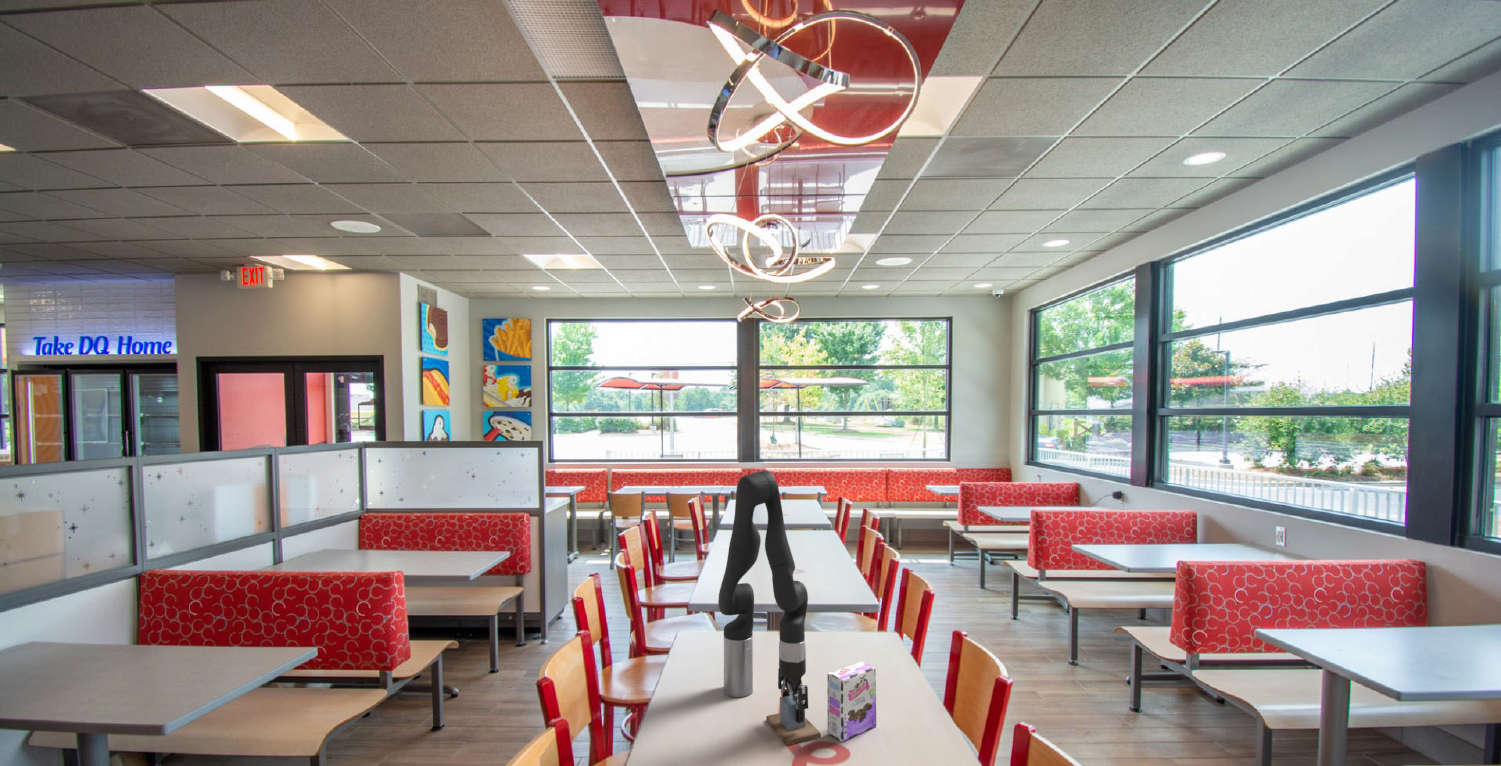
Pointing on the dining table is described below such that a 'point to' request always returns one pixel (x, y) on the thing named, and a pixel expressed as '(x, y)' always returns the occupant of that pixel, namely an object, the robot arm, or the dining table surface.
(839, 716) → the candy box
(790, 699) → the blue-gray block
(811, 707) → the dining table surface
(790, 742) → the post stand
